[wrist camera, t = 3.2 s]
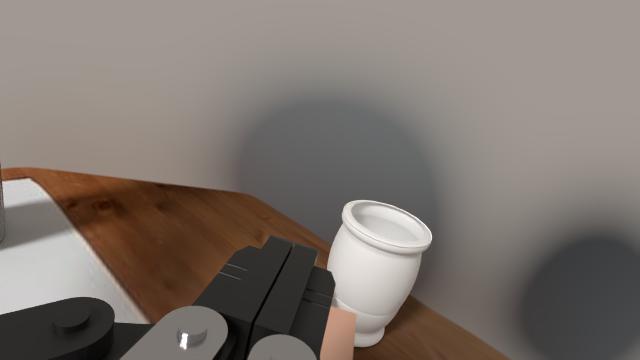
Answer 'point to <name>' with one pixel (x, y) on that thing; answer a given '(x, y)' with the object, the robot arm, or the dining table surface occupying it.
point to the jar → (375, 264)
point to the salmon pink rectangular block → (339, 335)
